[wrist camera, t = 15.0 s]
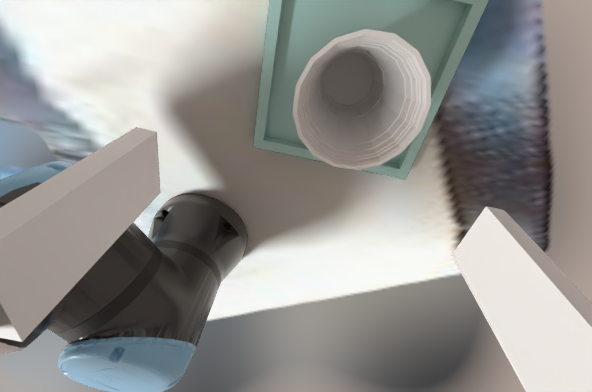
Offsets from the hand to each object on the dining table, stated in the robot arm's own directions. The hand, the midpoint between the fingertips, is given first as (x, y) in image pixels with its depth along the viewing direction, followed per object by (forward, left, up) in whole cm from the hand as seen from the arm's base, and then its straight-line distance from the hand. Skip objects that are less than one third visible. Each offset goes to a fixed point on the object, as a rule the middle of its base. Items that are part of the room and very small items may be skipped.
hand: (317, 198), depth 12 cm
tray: (+1, -3, -25) cm, 26 cm away
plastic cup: (+1, -3, -25) cm, 25 cm away
